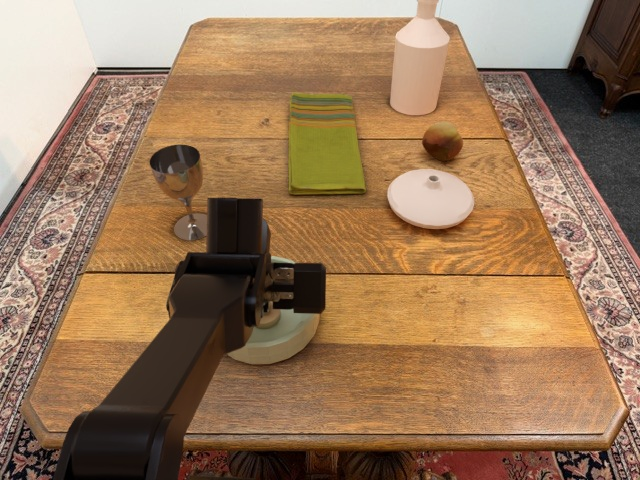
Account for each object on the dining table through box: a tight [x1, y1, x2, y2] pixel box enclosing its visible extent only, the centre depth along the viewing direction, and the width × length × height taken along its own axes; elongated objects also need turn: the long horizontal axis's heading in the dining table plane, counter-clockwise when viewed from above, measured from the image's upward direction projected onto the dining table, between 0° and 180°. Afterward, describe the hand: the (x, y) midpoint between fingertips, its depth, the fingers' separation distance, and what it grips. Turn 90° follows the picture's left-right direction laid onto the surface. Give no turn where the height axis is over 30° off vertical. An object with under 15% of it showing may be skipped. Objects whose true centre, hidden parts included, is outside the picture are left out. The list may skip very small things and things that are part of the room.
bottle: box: [389, 0, 451, 116], centre depth 107 cm, size 12×12×25 cm
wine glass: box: [149, 144, 207, 241], centre depth 81 cm, size 8×8×15 cm
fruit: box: [421, 120, 464, 162], centre depth 97 cm, size 8×8×8 cm
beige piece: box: [256, 301, 281, 329], centre depth 66 cm, size 5×5×13 cm
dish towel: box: [288, 92, 367, 195], centre depth 103 cm, size 15×36×3 cm, turn 2°
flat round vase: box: [386, 168, 475, 230], centre depth 86 cm, size 16×16×7 cm
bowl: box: [226, 255, 320, 365], centre depth 70 cm, size 16×16×5 cm
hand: (261, 280), depth 67 cm, fingers open, 4 cm apart
